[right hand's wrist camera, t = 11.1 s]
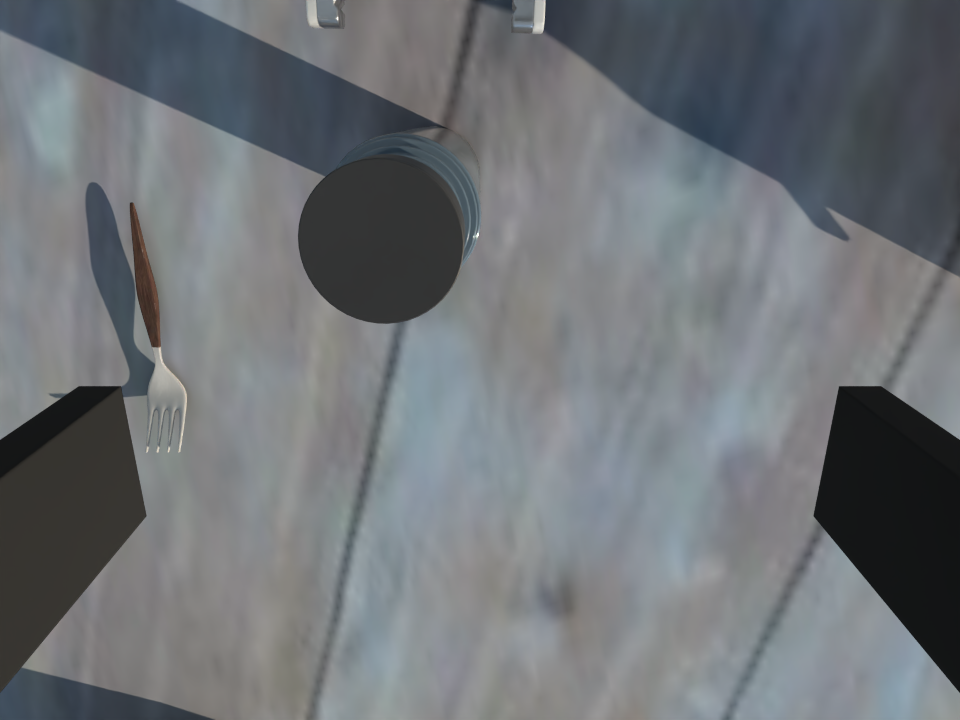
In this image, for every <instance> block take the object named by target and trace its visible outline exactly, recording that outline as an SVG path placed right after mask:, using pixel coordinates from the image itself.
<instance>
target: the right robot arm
mask: <svg viewBox="0 0 960 720" xmlns="http://www.w3.org/2000/svg"><path fill="white" fill-rule="evenodd" d="M145 517H146V511H145V506H144V501H143V496H142V491H141V486H140V481H139V476H138V471H137V466H136V461H135V455H134V450H133V445H132V440H131V435H130V430H129V425H128V420H127V415H126V410H125V405H124V400H123V395H122V390H121V386H79V387H77V388H76V389H74V390H73V391H71V392H70V393H68V394H67V395H66V396H64V397H63V398H61V399H60V400H58V401H57V402H55V403H54V404H52V405H51V406H49V407H48V408H46V409H45V410H43V411H42V412H41V413H39V414H38V415H36V416H35V417H33V418H32V419H30V420H29V421H27V422H26V423H24V424H23V425H21V426H20V427H19V428H17V429H16V430H14V431H13V432H11V433H10V434H8V435H7V436H5V437H4V438H2V439H1V440H0V692H1V691H2V690H3V689H4V688H5V686H6V685H7V684H8V683H9V682H10V680H11V679H12V678H13V677H14V675H15V674H16V673H17V672H18V671H19V669H20V668H21V667H22V666H23V665H24V663H25V662H26V661H27V660H28V659H29V657H30V656H31V655H32V654H33V653H34V651H35V650H36V649H37V648H38V646H39V645H40V644H41V643H42V642H43V640H44V639H45V638H46V637H47V636H48V634H49V633H50V632H51V631H52V630H53V628H54V627H55V626H56V625H57V624H58V622H59V621H60V620H61V619H62V617H63V616H64V615H65V614H66V613H67V611H68V610H69V609H70V608H71V607H72V605H73V604H74V603H75V602H76V601H77V599H78V598H79V597H80V596H81V595H82V593H83V592H84V591H85V590H86V589H87V587H88V586H89V585H90V584H91V582H92V581H93V580H94V579H95V578H96V576H97V575H98V574H99V573H100V572H101V570H102V569H103V568H104V567H105V566H106V564H107V563H108V562H109V561H110V560H111V558H112V557H113V556H114V555H115V553H116V552H117V551H118V550H119V549H120V547H121V546H122V545H123V544H124V543H125V541H126V540H127V539H128V538H129V537H130V535H131V534H132V533H133V532H134V531H135V529H136V528H137V527H138V526H139V524H140V523H141V522H142V521H143V520H144V518H145ZM814 517H815V518H816V520H817V521H818V522H819V523H820V524H821V526H822V527H823V528H824V529H825V531H826V532H827V533H828V534H829V535H830V537H831V538H832V539H833V540H834V541H835V543H836V544H837V545H838V546H839V547H840V549H841V550H842V551H843V552H844V553H845V555H846V556H847V557H848V558H849V560H850V561H851V562H852V563H853V564H854V566H855V567H856V568H857V569H858V570H859V572H860V573H861V574H862V575H863V576H864V578H865V579H866V580H867V581H868V582H869V584H870V585H871V586H872V587H873V589H874V590H875V591H876V592H877V593H878V595H879V596H880V597H881V598H882V599H883V601H884V602H885V603H886V604H887V605H888V607H889V608H890V609H891V610H892V611H893V613H894V614H895V615H896V616H897V617H898V619H899V620H900V621H901V622H902V624H903V625H904V626H905V627H906V628H907V630H908V631H909V632H910V633H911V634H912V636H913V637H914V638H915V639H916V640H917V642H918V643H919V644H920V645H921V646H922V648H923V649H924V650H925V651H926V653H927V654H928V655H929V656H930V657H931V659H932V660H933V661H934V662H935V663H936V665H937V666H938V667H939V668H940V669H941V671H942V672H943V673H944V674H945V675H946V677H947V678H948V679H949V680H950V682H951V683H952V684H953V685H954V686H955V688H956V689H957V690H958V691H959V692H960V440H959V439H958V438H956V437H955V436H953V435H952V434H950V433H949V432H947V431H946V430H944V429H943V428H941V427H940V426H939V425H937V424H936V423H934V422H933V421H931V420H930V419H928V418H927V417H925V416H924V415H922V414H921V413H919V412H918V411H917V410H915V409H914V408H912V407H911V406H909V405H908V404H906V403H905V402H903V401H902V400H900V399H899V398H897V397H896V396H894V395H893V394H892V393H890V392H889V391H887V390H886V389H884V388H883V387H881V386H839V390H838V395H837V400H836V405H835V410H834V415H833V420H832V425H831V430H830V435H829V440H828V445H827V450H826V455H825V461H824V466H823V471H822V476H821V481H820V486H819V491H818V496H817V501H816V506H815V511H814Z"/></svg>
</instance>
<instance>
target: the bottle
mask: <svg viewBox="0 0 960 720" xmlns="http://www.w3.org/2000/svg"><path fill="white" fill-rule="evenodd" d="M380 154H395V155H401V156H406V157H409V158H412V159H415V160H417V161H419V162H421V163H423V164H425V165H427V166H428V167H430V168H431V169H433V170H434V171H435V172H436V173H438V174H439V175H440V176H441V177H442V178H443V179H444V180H445V181H446V182H447V183H448V185H449V186H450V188H451V189H452V190H453V192H454V194H455V196H456V197H457V199H458V201H459V204H460V207H461V209H462V213H463V217H464V222H465V245H464V254H463V260H462V265H461V267H462V266H463V265H464V263H465V262H466V261H467V260H468V258H469V256H470V255H471V253H472V251H473V249H474V247H475V245H476V242H477V239H478V236H479V231H480V225H481V195H480V171H479V164H478V160H477V158H476V155H475V153H474V151H473V149H472V148H471V146H470V145H469V144H468V143H467V141H466V140H465V139H464V138H462V137H461V136H460V135H459V134H457V133H456V132H454V131H452V130H449V129H446V128H443V127H438V126H427V127H421V128H416V129H411V130H406V131H401V132H395V133H390V134H386V135H381V136H377V137H375V138H372V139H370V140H367V141H365V142H364V143H362V144H360V145H358V146H357V147H356V148H354V149H353V150H352V151H351V152H349V153H348V154H347V155H346V156H345V157H344V159H343V160H342V161H341V162H340V164H339V165H338V166H337V168H336V169H338V168H339V167H341V166H343V165H346V164H348V163H351V162H353V161H356V160H359V159H362V158H364V157H368V156H373V155H380Z"/></svg>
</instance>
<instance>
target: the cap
mask: <svg viewBox="0 0 960 720" xmlns="http://www.w3.org/2000/svg"><path fill="white" fill-rule="evenodd" d="M298 242H299V251H300V256H301V260H302V263H303V266H304V269H305V271H306V273H307V275H308V277H309V279H310V281H311V282H312V284H313V285H314V287H315V288H316V289H317V291H318V292H319V293H320V294H321V295H322V296H323V297H324V298H325V299H326V300H327V301H328V302H329V303H330V304H331V305H333V306H334V307H335V308H337V309H338V310H340V311H342V312H343V313H345V314H347V315H349V316H351V317H354V318H356V319H359V320H363V321H366V322H372V323H383V324H389V323H399V322H403V321H408V320H411V319H413V318H416V317H418V316H420V315H422V314H424V313H426V312H428V311H429V310H431V309H432V308H433V307H435V306H436V305H437V304H438V303H439V302H440V301H441V300H443V298H444V297H445V296H446V295H447V294H448V292H449V291H450V289H451V288H452V286H453V285H454V283H455V281H456V279H457V277H458V274H459V272H460V268H461V265H462V260H463V254H464V245H465V222H464V217H463V213H462V209H461V207H460V204H459V201H458V199H457V197H456V196H455V194H454V192H453V190H452V189H451V188H450V186H449V185H448V183H447V182H446V181H445V180H444V179H443V178H442V177H441V176H440V175H439V174H438V173H436V172H435V171H434V170H433V169H431V168H430V167H428V166H427V165H425V164H423V163H421V162H419V161H417V160H415V159H412V158H409V157H406V156H401V155H395V154H380V155H373V156H368V157H364V158H362V159H359V160H356V161H353V162H351V163H348V164H346V165H343V166H341V167H339V168H338V169H336V170H334V171H332V172H331V173H330V174H329V175H327V176H326V177H325V178H324V179H323V180H322V181H321V182H320V183H319V184H318V185H317V186H316V187H315V189H314V190H313V191H312V193H311V194H310V196H309V198H308V199H307V201H306V203H305V206H304V208H303V211H302V214H301V218H300V223H299V231H298Z"/></svg>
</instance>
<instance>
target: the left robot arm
mask: <svg viewBox="0 0 960 720" xmlns="http://www.w3.org/2000/svg"><path fill="white" fill-rule="evenodd" d="M545 1H546V0H512V9H513V11H514V13H513V15H512V19H511V33H528V34H542V32H543V29H544V21H545ZM305 4H306V17H307V22H308V25H309V26H310V27H312V28H323V29H344V27H345V14H344V13H343V11H342V10H341V9H342V7H343V6H344V0H305Z"/></svg>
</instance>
